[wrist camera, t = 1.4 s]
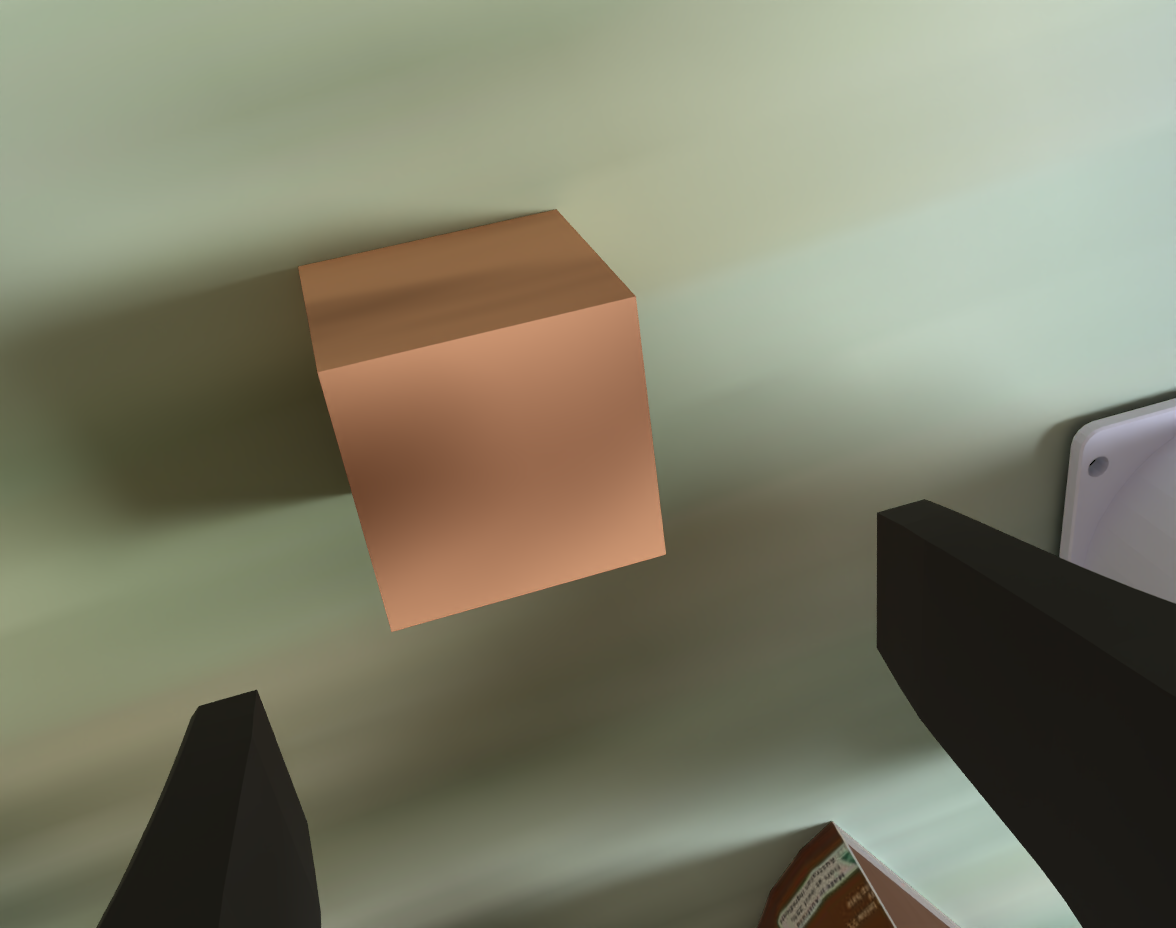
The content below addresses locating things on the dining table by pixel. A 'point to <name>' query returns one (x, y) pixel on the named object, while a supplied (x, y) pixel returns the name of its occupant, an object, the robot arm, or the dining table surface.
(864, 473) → the dining table surface
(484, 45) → the dining table surface
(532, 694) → the dining table surface
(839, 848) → the food container
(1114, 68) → the dining table surface
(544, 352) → the terracotta cube
